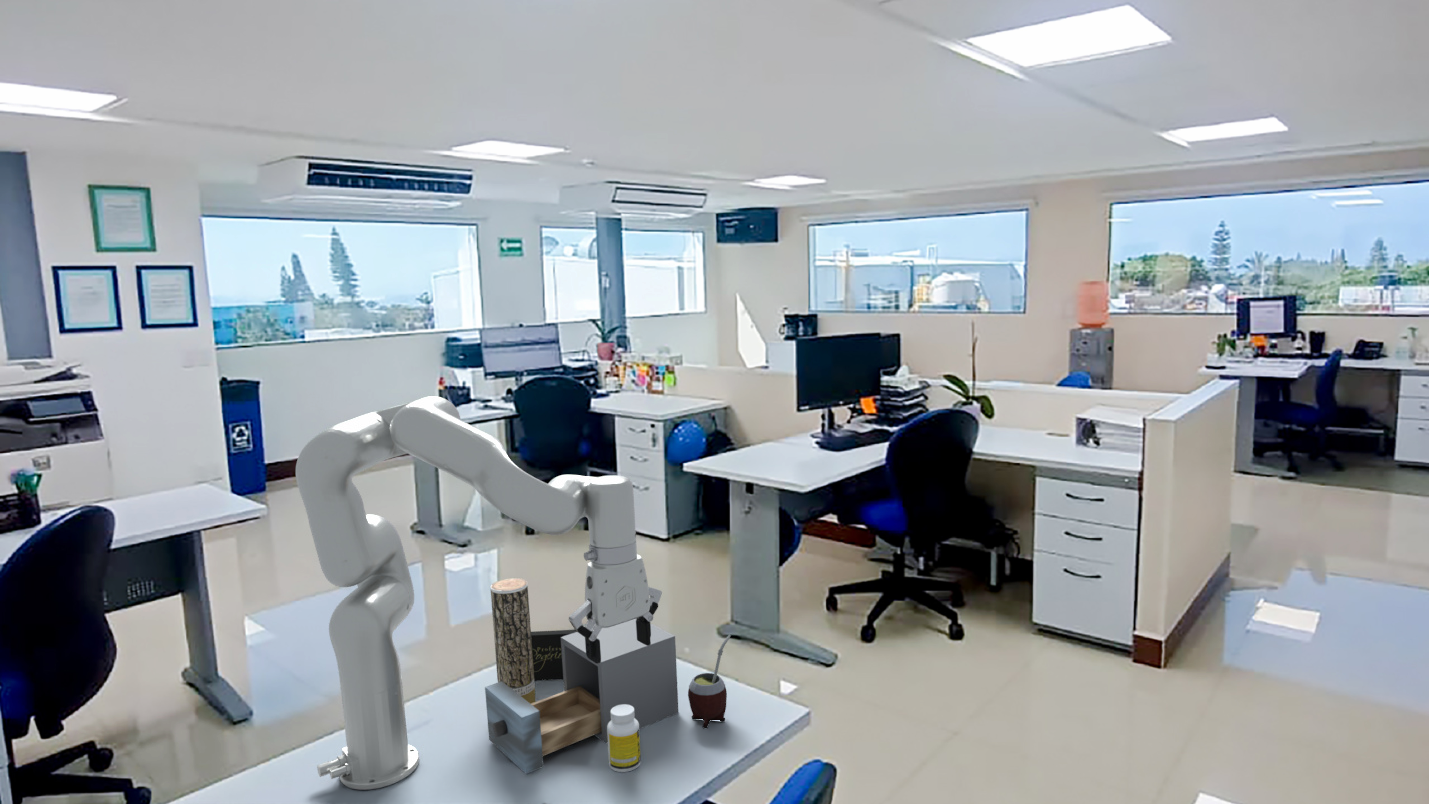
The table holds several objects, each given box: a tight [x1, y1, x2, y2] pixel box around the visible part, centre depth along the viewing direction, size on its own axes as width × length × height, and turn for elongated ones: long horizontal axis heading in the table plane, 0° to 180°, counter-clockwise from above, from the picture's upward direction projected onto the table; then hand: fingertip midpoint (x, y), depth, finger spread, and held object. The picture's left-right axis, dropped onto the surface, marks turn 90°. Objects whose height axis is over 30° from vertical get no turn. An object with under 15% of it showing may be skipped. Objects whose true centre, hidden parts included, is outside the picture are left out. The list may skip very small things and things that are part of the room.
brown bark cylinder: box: [490, 577, 537, 704], centre depth 163 cm, size 7×7×25 cm
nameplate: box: [531, 629, 577, 682], centre depth 176 cm, size 21×2×10 cm, turn 92°
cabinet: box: [561, 619, 679, 744], centre depth 161 cm, size 16×14×15 cm
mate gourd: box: [687, 633, 732, 729], centre depth 157 cm, size 8×8×15 cm
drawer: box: [484, 681, 602, 775], centre depth 151 cm, size 19×14×10 cm
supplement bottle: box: [607, 704, 642, 773], centre depth 144 cm, size 5×5×10 cm
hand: (619, 651), depth 142 cm, fingers open, 9 cm apart
